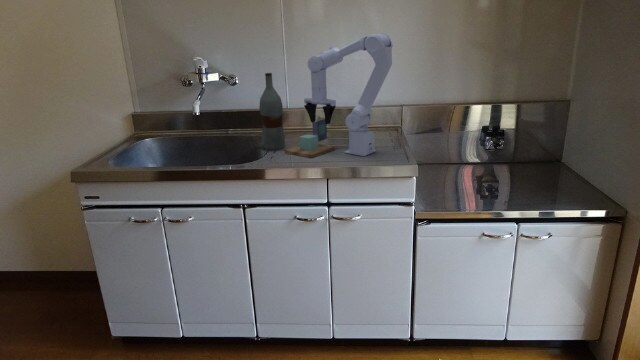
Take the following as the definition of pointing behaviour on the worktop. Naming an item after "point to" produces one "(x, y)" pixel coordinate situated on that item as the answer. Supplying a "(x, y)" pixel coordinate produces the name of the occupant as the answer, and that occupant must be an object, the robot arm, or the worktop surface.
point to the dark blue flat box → (320, 128)
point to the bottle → (271, 117)
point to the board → (310, 154)
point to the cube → (308, 142)
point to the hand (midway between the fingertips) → (320, 122)
